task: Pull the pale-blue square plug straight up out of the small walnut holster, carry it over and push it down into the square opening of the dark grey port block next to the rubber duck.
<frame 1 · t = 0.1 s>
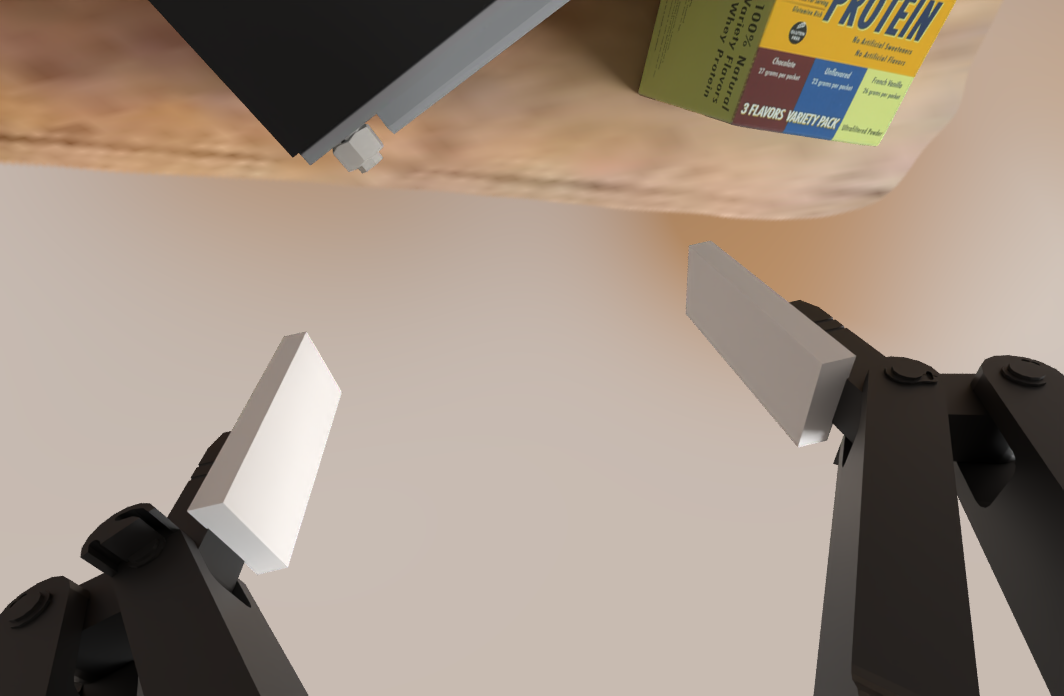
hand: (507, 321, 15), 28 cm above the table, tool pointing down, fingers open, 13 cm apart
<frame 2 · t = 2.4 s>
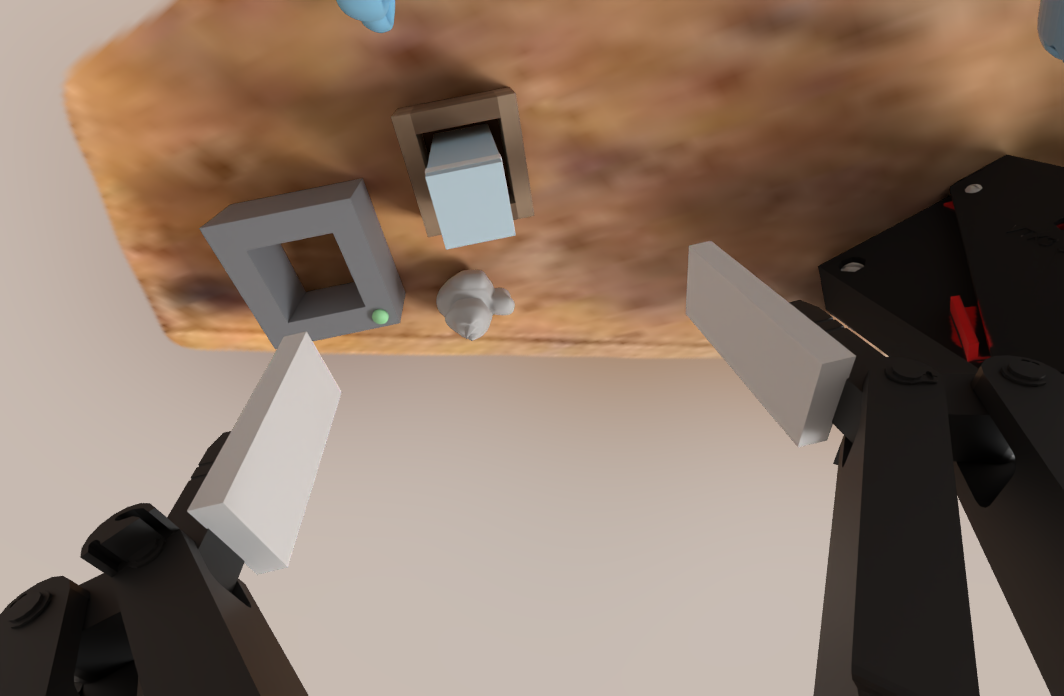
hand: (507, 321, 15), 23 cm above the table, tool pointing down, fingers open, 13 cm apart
plug: (469, 178, 28), in the holster
electrical component: (906, 244, 44), on the table
rubber duck: (474, 287, 40), on the table
holster: (467, 157, 33), on the table
port: (325, 252, 36), on the table
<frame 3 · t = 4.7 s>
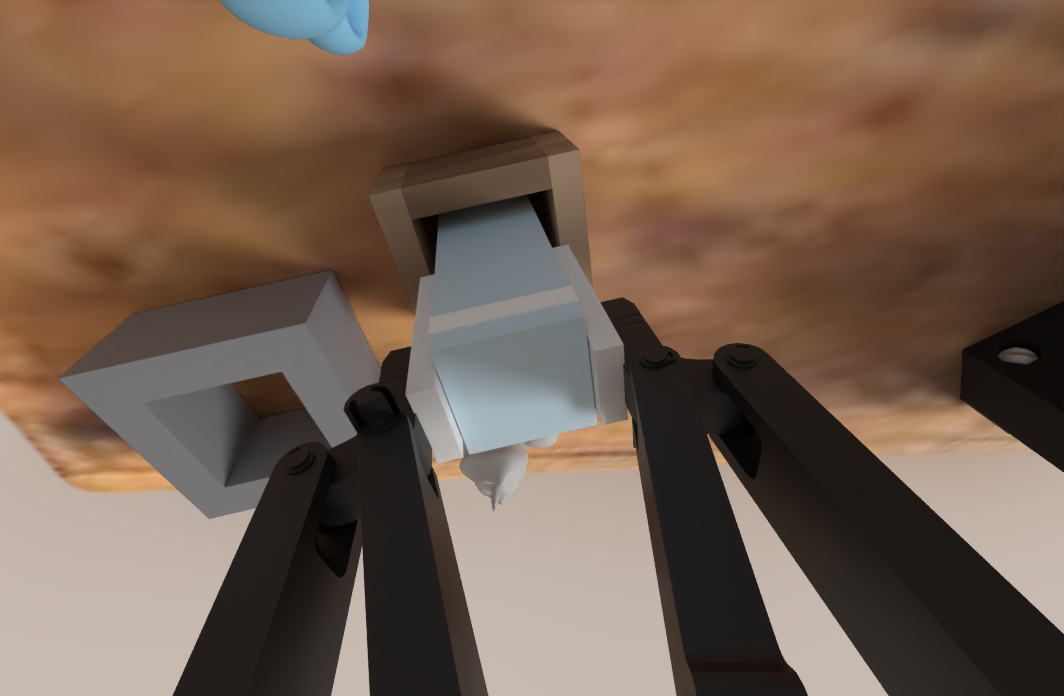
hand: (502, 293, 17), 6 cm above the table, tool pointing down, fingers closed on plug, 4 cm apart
plug: (501, 290, 17), in the holster, touching gripper
rubber duck: (498, 399, 29), on the table
holster: (490, 234, 22), on the table
port: (283, 369, 25), on the table
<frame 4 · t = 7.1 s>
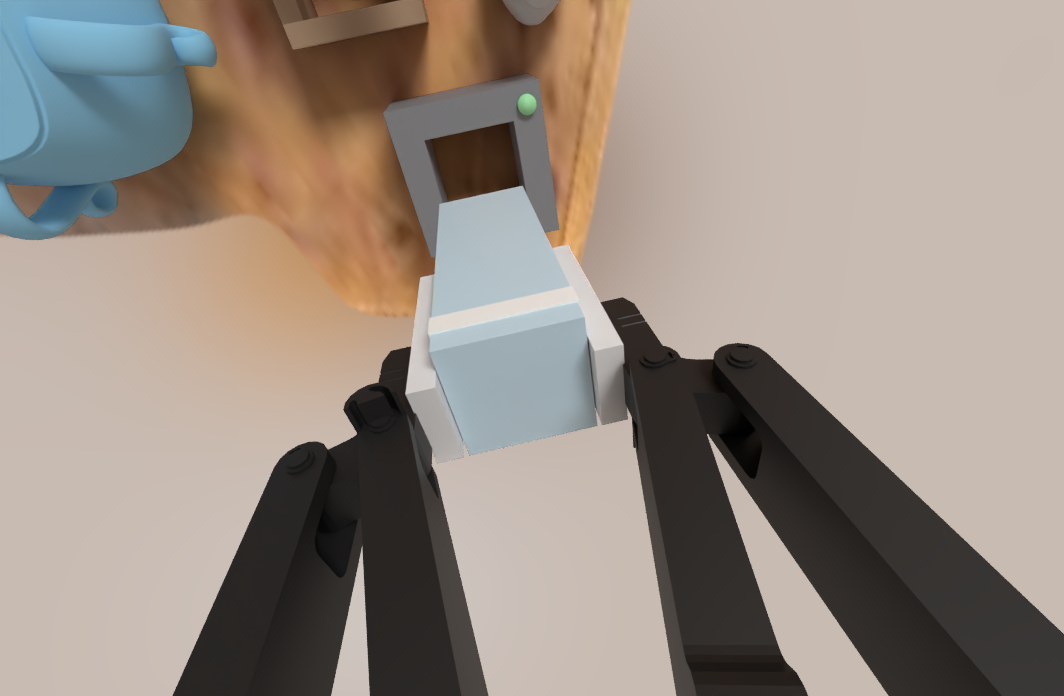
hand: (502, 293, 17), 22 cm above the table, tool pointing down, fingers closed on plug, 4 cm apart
plug: (501, 291, 17), point 22 cm above the table, touching gripper
port: (476, 160, 35), on the table
decorative pot: (64, 36, 27), on the table
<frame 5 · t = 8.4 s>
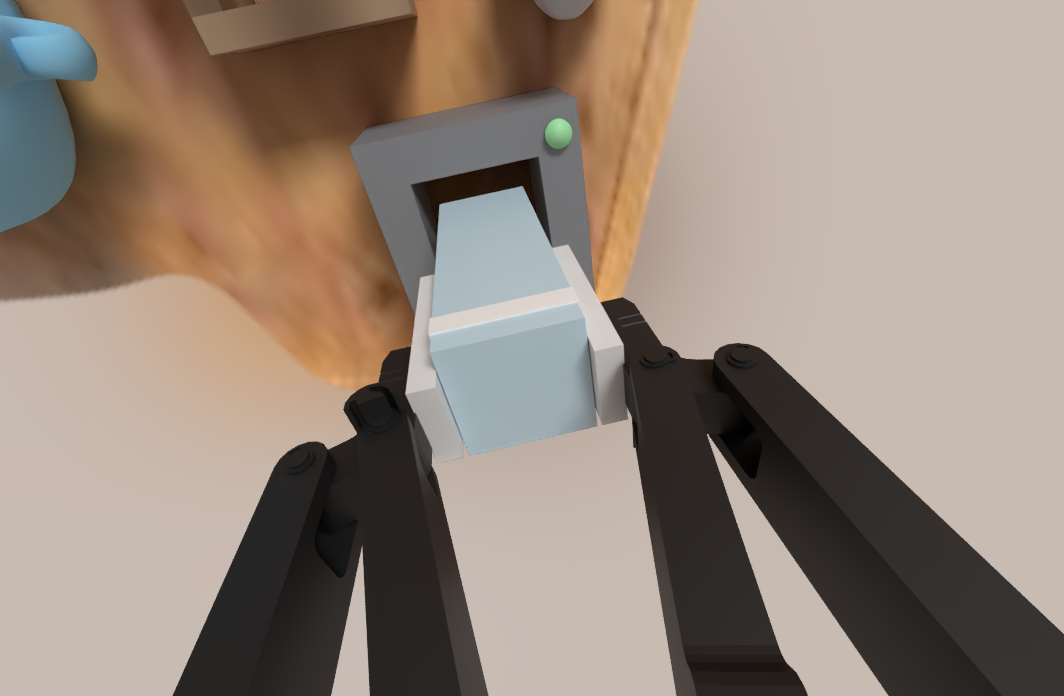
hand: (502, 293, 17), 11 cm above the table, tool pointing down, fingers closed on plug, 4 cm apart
plug: (501, 291, 17), point 11 cm above the table, touching gripper
port: (483, 201, 26), on the table
when the fingers open (7 cm above the table, at t = 9.4 s): plug drops 1 cm, resting in port.
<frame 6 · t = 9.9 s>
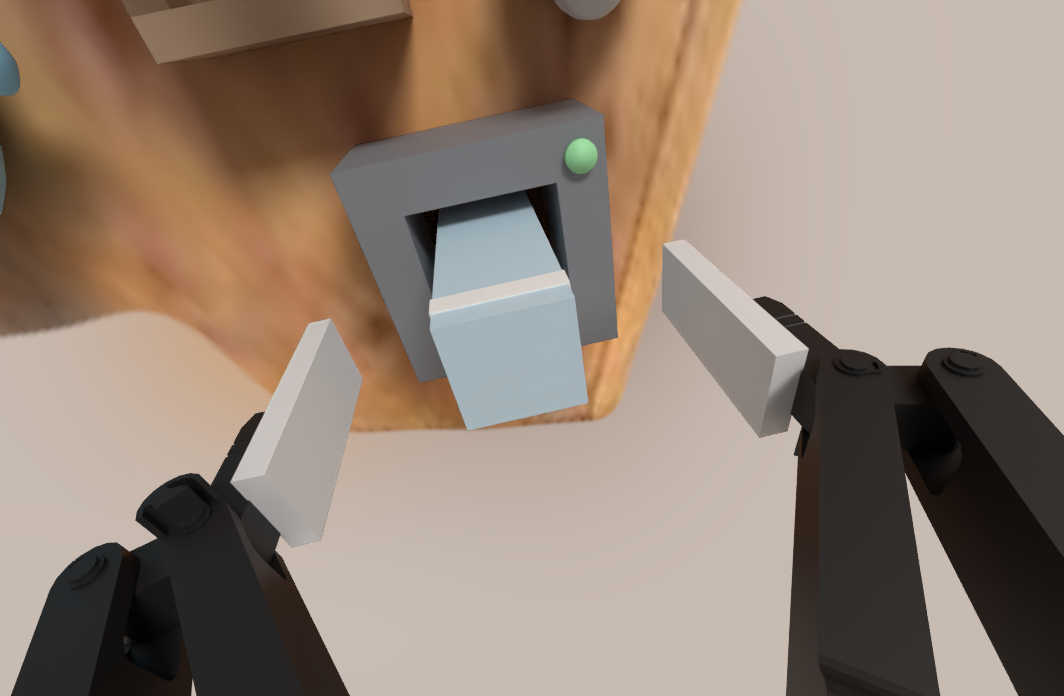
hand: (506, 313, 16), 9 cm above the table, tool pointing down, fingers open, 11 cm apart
plug: (498, 279, 18), in the port
port: (489, 227, 23), on the table
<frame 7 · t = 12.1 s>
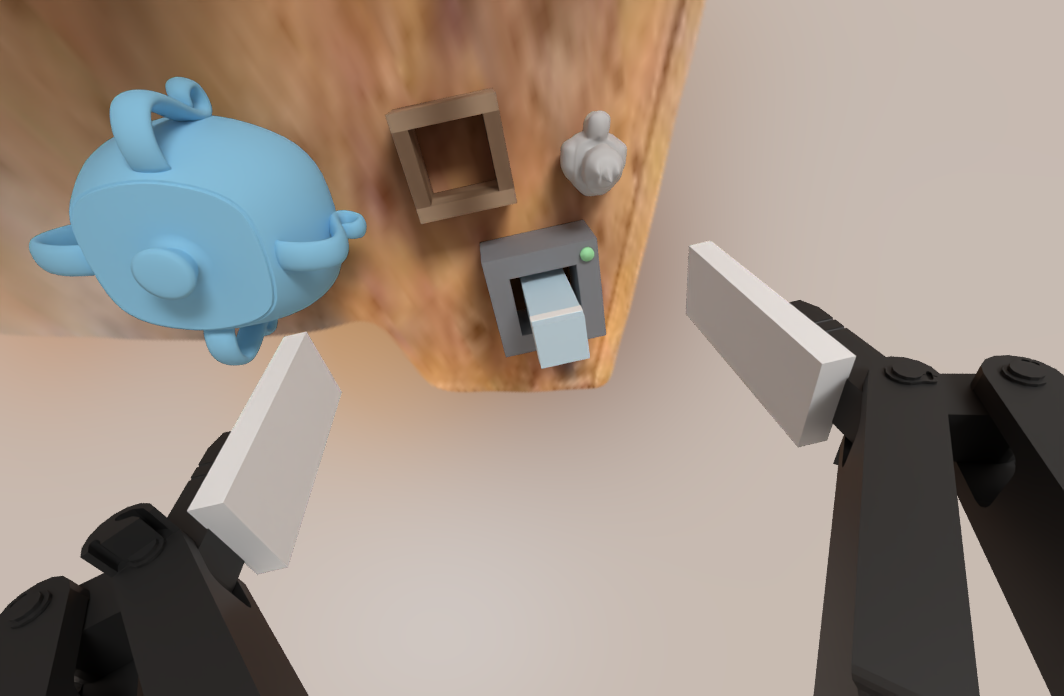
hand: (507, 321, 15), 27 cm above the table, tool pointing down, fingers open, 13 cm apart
plug: (549, 306, 39), in the port
rubber duck: (586, 149, 38), on the table
holster: (456, 152, 37), on the table
port: (540, 278, 44), on the table
decorative pot: (252, 209, 37), on the table
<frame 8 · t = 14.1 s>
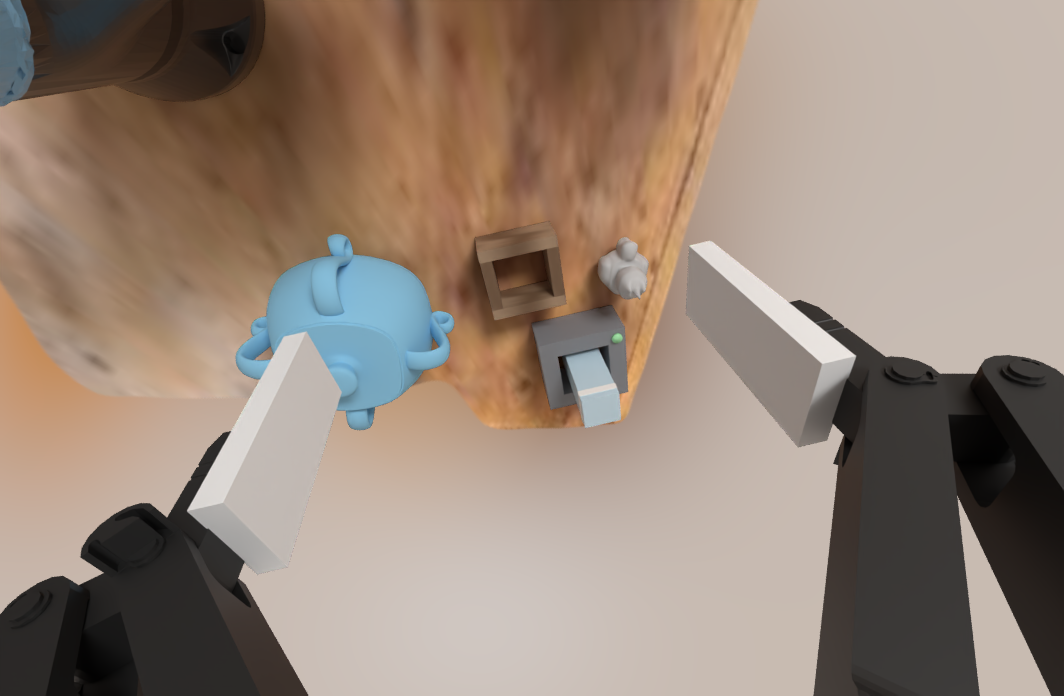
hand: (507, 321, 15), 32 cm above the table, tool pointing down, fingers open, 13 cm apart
plug: (587, 375, 52), in the port
rubber duck: (616, 257, 50), on the table
holster: (519, 263, 49), on the table
port: (576, 346, 56), on the table
decorative pot: (363, 306, 49), on the table
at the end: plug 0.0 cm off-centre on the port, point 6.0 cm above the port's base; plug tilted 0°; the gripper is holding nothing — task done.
